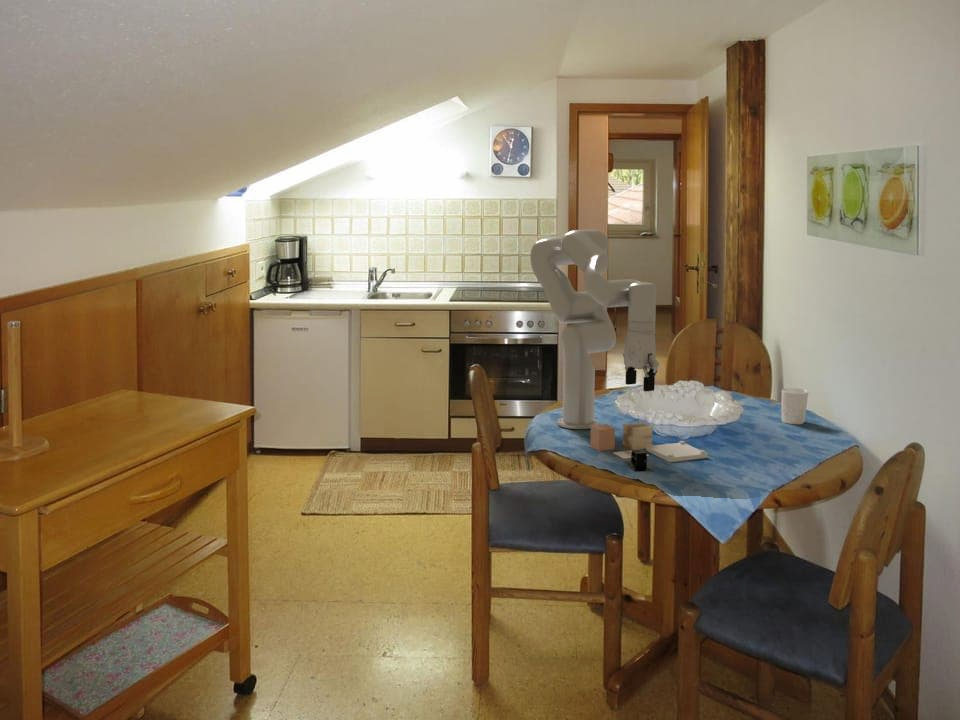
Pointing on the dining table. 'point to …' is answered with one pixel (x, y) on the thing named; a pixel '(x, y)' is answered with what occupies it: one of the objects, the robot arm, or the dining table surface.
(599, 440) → the terracotta brick
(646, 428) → the beech brick
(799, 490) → the dining table surface
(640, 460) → the dark stepped block
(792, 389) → the white cup
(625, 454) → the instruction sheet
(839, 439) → the dining table surface
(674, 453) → the plate
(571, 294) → the robot arm
